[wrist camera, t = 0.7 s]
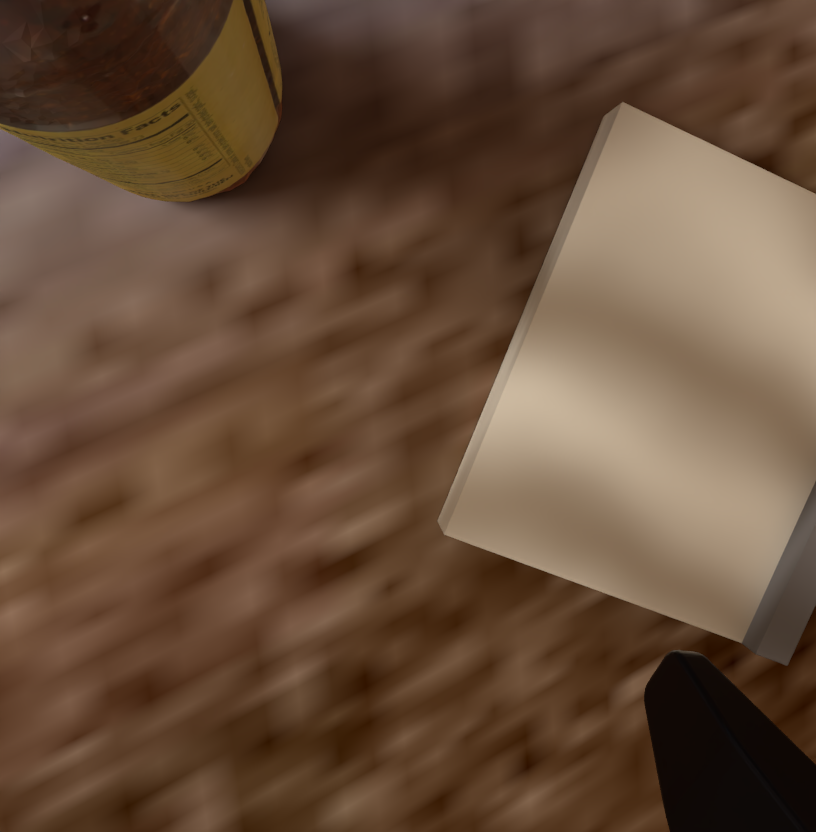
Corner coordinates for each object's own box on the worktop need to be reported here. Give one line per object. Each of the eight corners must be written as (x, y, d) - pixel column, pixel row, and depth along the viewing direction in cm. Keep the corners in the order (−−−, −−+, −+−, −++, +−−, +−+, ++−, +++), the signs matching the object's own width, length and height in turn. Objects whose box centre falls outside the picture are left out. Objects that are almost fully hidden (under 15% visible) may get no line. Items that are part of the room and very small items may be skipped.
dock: (746, 634, 25) (787, 665, 23) (437, 521, 24) (448, 542, 21) (916, 263, 24) (976, 257, 22) (603, 116, 22) (633, 93, 20)
